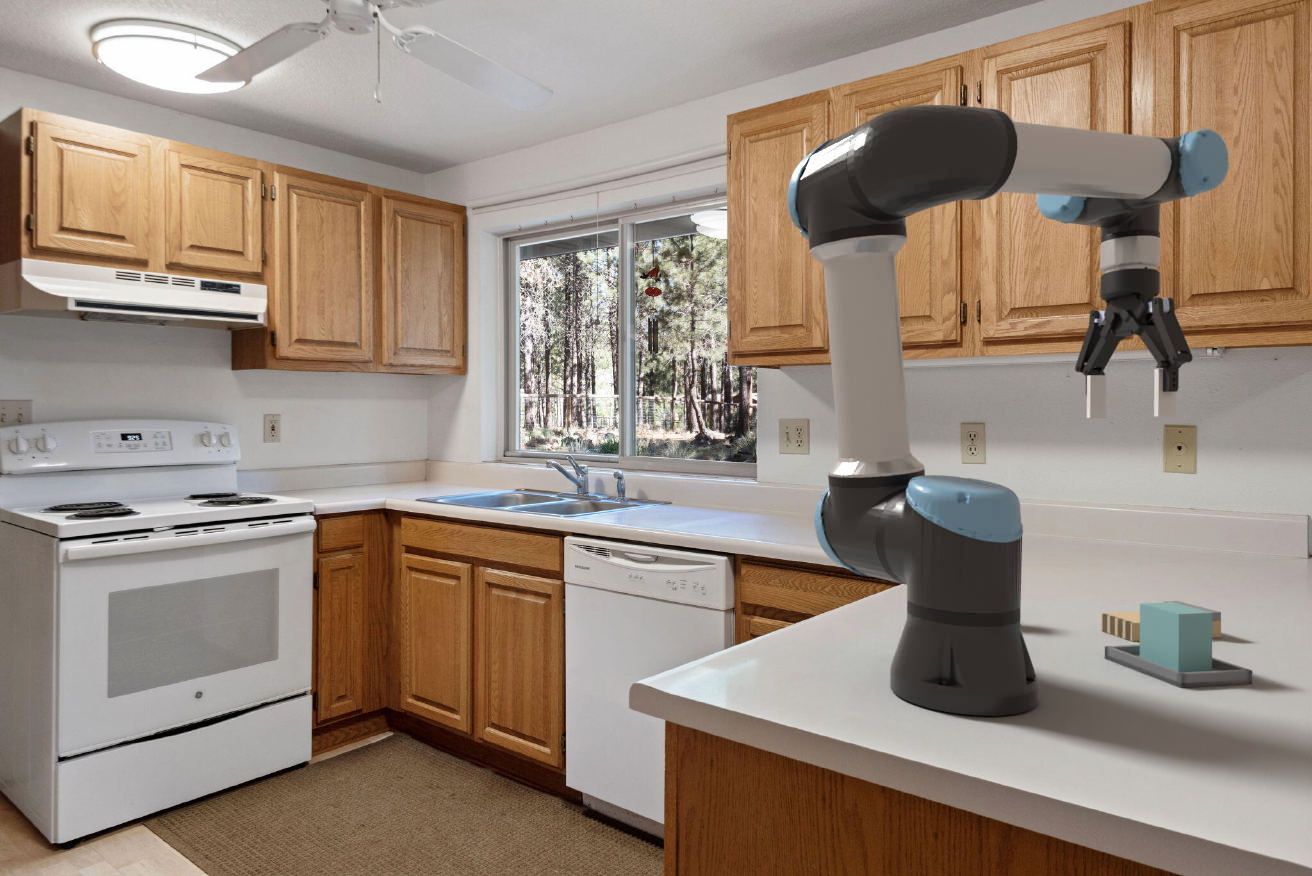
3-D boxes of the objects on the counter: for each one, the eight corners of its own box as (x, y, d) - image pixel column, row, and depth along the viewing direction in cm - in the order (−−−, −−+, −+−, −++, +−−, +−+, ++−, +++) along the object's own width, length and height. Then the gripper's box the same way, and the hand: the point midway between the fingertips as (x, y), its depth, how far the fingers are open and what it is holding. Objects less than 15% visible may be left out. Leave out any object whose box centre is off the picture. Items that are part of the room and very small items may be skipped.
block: (1178, 674, 96) (1178, 614, 96) (1139, 660, 102) (1140, 603, 102) (1211, 672, 97) (1212, 612, 97) (1171, 658, 103) (1172, 602, 103)
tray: (1181, 687, 93) (1181, 674, 93) (1104, 658, 105) (1104, 646, 105) (1252, 683, 94) (1252, 670, 94) (1168, 654, 106) (1168, 643, 106)
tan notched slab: (1136, 642, 112) (1136, 615, 112) (1097, 629, 120) (1097, 603, 120) (1225, 638, 115) (1226, 611, 115) (1182, 625, 122) (1182, 600, 122)
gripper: (1224, 254, 109) (1223, 415, 109) (1093, 286, 133) (1092, 418, 133) (1174, 252, 107) (1173, 415, 108) (1051, 285, 132) (1050, 418, 132)
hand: (1128, 417), depth 121 cm, fingers open, 13 cm apart
